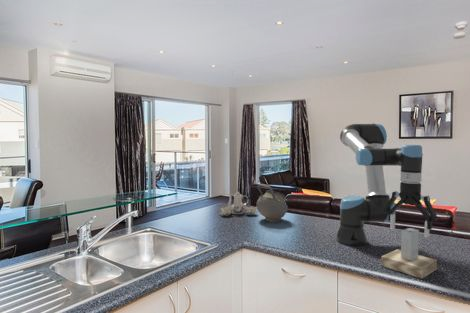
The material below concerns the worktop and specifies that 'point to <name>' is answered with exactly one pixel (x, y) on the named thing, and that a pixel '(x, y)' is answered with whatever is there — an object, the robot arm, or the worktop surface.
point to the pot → (271, 204)
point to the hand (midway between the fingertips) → (408, 232)
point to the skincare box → (409, 244)
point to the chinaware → (237, 206)
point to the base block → (409, 264)
